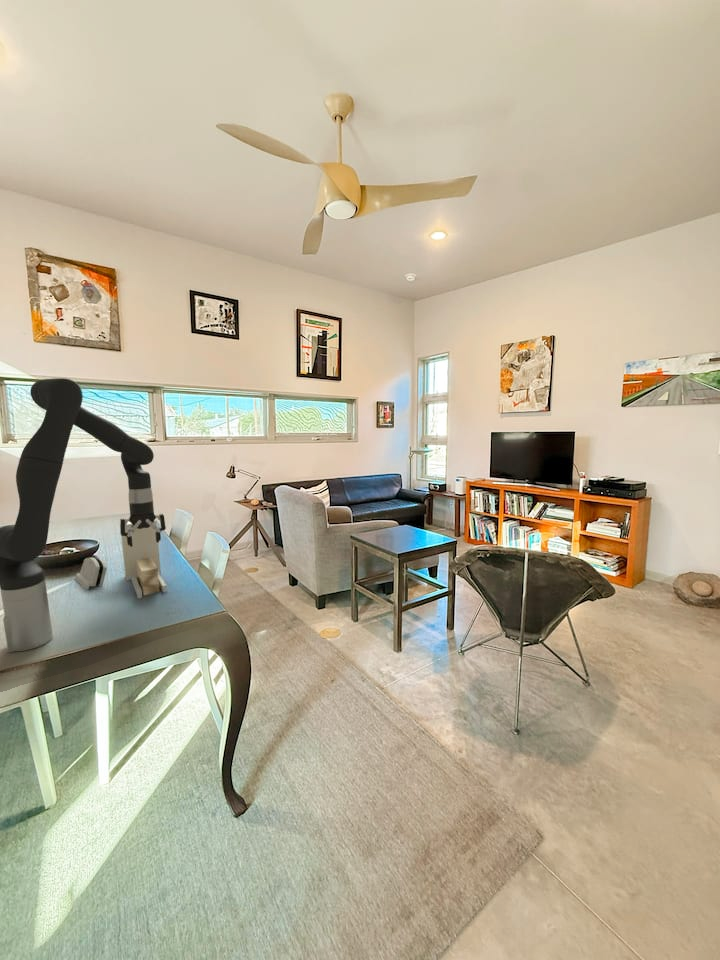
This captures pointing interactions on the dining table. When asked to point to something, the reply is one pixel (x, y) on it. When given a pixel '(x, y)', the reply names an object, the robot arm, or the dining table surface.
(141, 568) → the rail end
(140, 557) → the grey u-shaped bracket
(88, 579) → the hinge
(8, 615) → the robot arm
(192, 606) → the dining table surface
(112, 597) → the dining table surface
